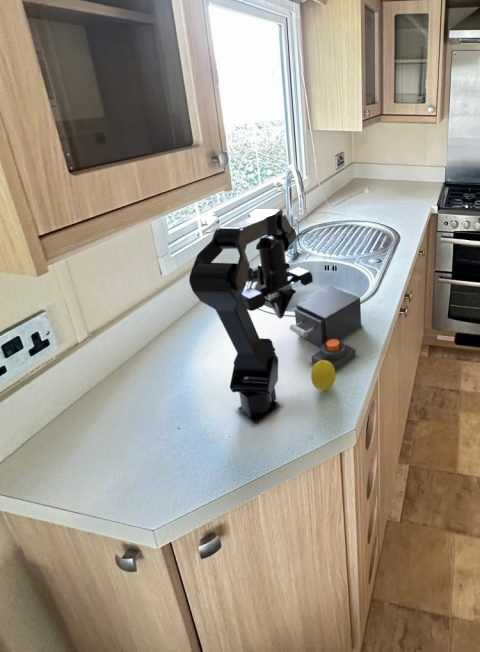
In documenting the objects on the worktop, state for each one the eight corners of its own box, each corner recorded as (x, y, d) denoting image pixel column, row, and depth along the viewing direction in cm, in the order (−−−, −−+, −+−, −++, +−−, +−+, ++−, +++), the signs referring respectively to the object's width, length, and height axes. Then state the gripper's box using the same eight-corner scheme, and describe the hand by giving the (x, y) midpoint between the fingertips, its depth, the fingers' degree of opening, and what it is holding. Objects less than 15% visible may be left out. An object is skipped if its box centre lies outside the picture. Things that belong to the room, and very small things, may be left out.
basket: (311, 355, 105) (308, 329, 103) (285, 340, 112) (282, 316, 109) (354, 326, 117) (353, 303, 114) (329, 315, 123) (327, 292, 121)
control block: (331, 374, 99) (330, 361, 98) (311, 363, 104) (310, 350, 102) (355, 356, 106) (355, 343, 104) (336, 346, 110) (336, 334, 109)
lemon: (314, 400, 92) (311, 371, 89) (311, 384, 97) (308, 356, 94) (338, 395, 93) (336, 366, 90) (334, 379, 98) (332, 351, 95)
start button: (333, 353, 101) (332, 348, 101) (324, 349, 103) (323, 343, 103) (342, 347, 104) (341, 341, 103) (333, 343, 106) (332, 337, 105)
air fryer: (327, 349, 109) (325, 318, 106) (299, 333, 116) (296, 304, 112) (361, 326, 119) (360, 297, 115) (333, 313, 126) (331, 286, 122)
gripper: (283, 241, 108) (289, 293, 113) (218, 265, 94) (228, 323, 100) (311, 251, 101) (316, 306, 107) (246, 278, 88) (255, 339, 93)
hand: (280, 317), depth 102 cm, fingers closed
